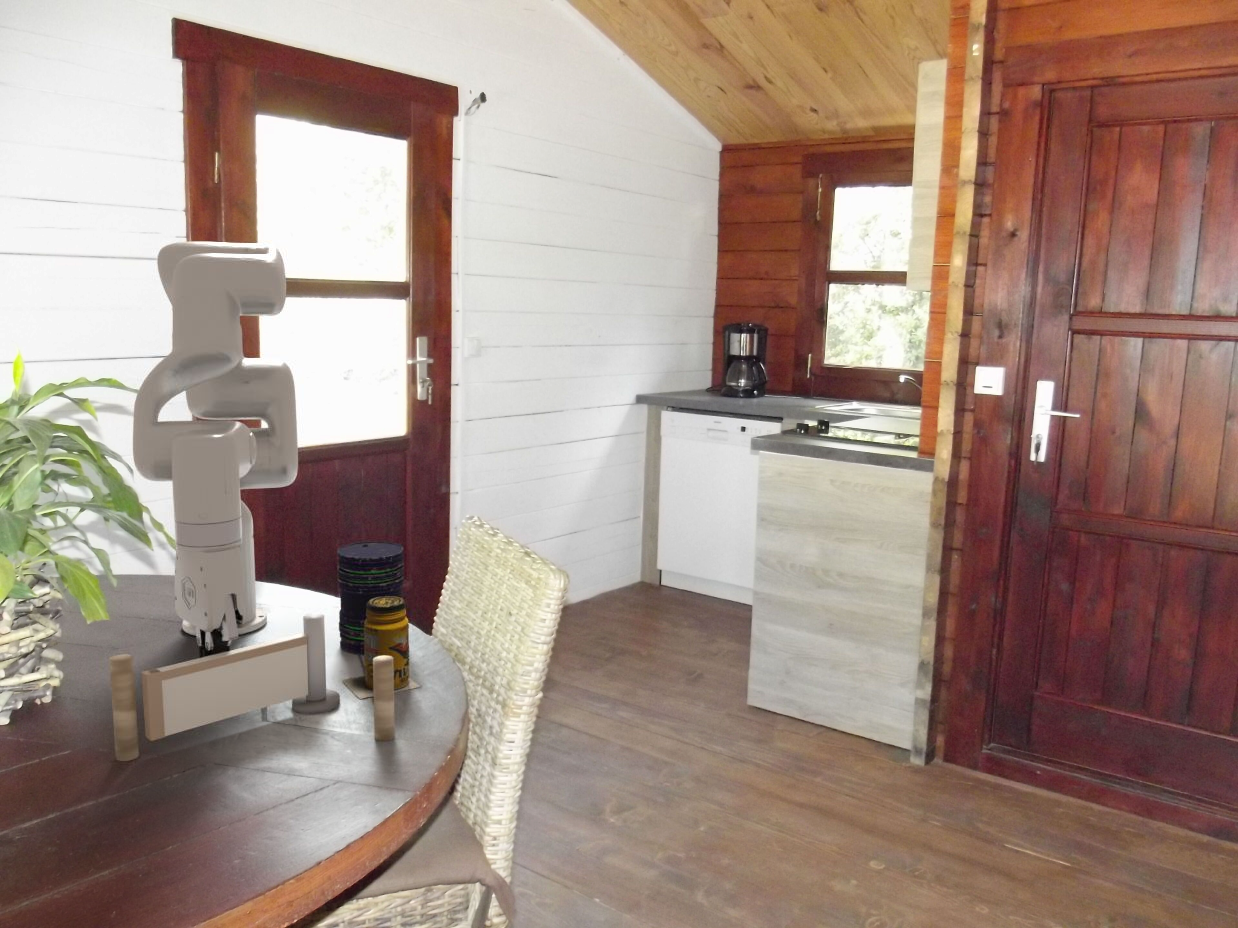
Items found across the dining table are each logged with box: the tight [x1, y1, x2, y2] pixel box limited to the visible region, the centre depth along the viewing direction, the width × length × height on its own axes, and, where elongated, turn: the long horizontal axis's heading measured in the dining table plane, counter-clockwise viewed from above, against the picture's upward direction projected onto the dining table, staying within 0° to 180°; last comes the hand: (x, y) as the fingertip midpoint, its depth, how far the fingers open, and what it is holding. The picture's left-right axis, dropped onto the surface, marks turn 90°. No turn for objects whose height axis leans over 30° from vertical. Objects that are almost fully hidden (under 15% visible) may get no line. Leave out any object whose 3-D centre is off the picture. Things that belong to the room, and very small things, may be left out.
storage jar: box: [337, 541, 405, 656], centre depth 156 cm, size 10×10×15 cm
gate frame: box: [109, 653, 395, 762], centre depth 122 cm, size 18×28×12 cm, turn 132°
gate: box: [141, 612, 327, 742], centre depth 127 cm, size 23×3×11 cm, turn 135°
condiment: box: [342, 596, 420, 700], centre depth 141 cm, size 7×8×12 cm
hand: (215, 675), depth 128 cm, fingers closed
